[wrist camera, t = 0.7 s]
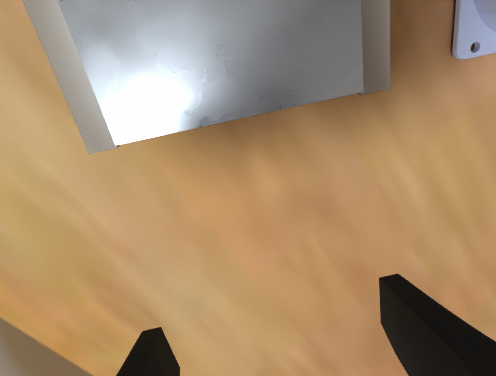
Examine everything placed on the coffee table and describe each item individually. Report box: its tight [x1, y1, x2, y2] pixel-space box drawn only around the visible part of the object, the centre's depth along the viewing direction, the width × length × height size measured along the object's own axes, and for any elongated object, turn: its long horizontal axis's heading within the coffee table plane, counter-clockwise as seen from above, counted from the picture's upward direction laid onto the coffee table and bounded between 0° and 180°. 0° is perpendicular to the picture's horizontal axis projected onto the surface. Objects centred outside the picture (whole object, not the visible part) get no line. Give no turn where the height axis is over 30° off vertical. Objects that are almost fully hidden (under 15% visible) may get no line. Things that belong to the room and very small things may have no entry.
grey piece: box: [58, 0, 364, 145], centre depth 14 cm, size 12×9×3 cm
